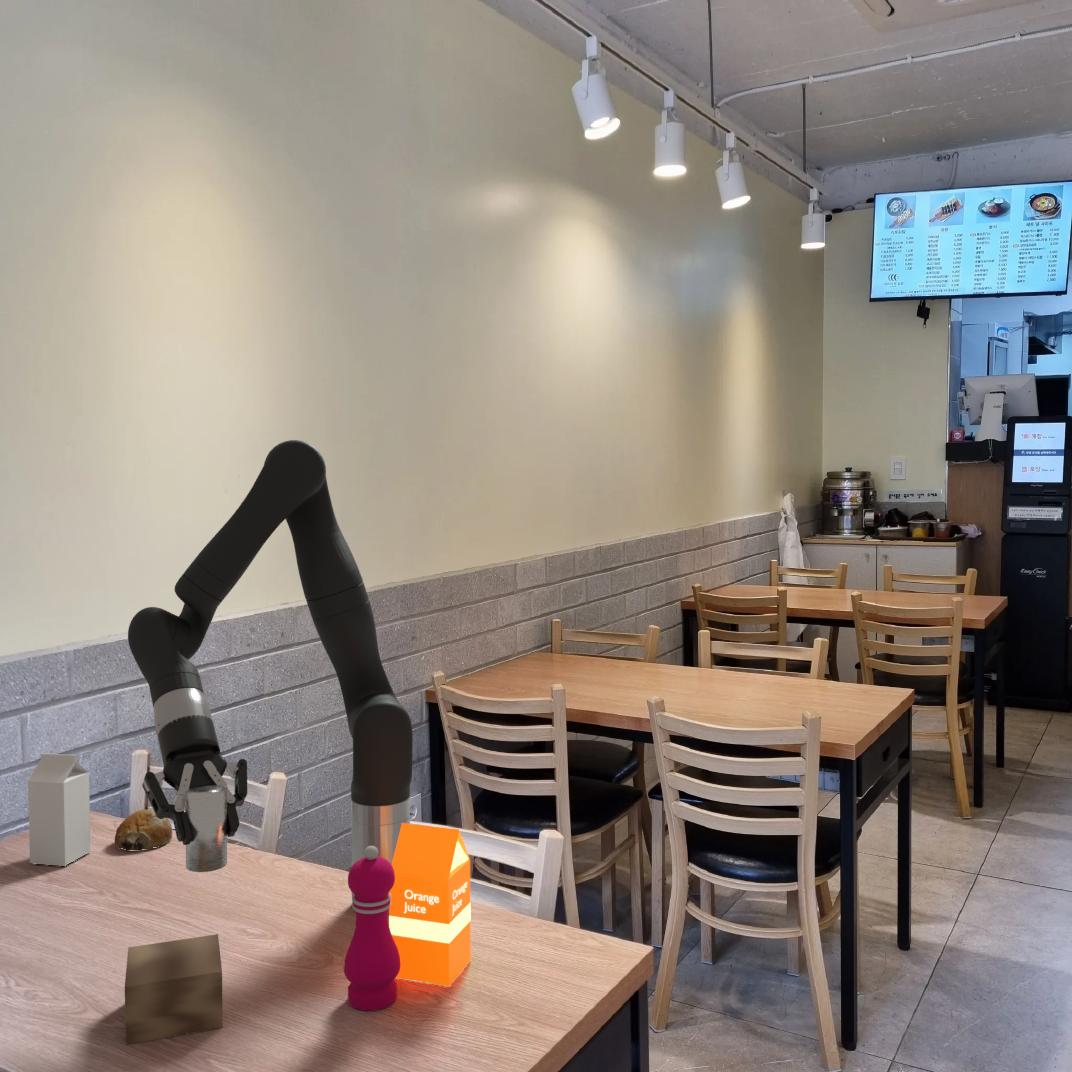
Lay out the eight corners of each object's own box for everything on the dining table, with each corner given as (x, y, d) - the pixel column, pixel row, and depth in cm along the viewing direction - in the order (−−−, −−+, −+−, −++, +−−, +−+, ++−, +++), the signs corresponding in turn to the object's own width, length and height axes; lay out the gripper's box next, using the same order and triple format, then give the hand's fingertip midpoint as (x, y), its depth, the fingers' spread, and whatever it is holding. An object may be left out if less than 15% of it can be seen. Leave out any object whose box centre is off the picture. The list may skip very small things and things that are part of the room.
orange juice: (449, 988, 131) (448, 838, 130) (388, 978, 134) (387, 831, 133) (471, 962, 139) (470, 820, 138) (414, 953, 141) (413, 814, 141)
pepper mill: (375, 1019, 123) (373, 860, 123) (332, 1003, 127) (330, 849, 126) (412, 994, 130) (411, 843, 129) (370, 980, 133) (368, 833, 133)
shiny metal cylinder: (226, 855, 135) (226, 783, 135) (227, 869, 130) (227, 794, 130) (186, 860, 133) (185, 786, 133) (185, 874, 129) (185, 797, 128)
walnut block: (218, 986, 132) (218, 934, 132) (222, 1027, 122) (222, 971, 121) (129, 1000, 128) (128, 947, 128) (125, 1044, 118) (124, 987, 118)
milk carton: (65, 867, 174) (62, 760, 173) (29, 865, 176) (27, 758, 175) (91, 853, 181) (88, 750, 180) (56, 850, 183) (54, 748, 182)
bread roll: (175, 862, 187) (190, 819, 189) (132, 854, 179) (148, 809, 181) (142, 852, 192) (157, 810, 195) (98, 843, 184) (114, 800, 187)
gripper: (135, 719, 133) (158, 833, 124) (242, 707, 141) (271, 814, 132) (127, 750, 138) (148, 862, 128) (230, 737, 146) (258, 841, 136)
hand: (210, 837), depth 130 cm, fingers closed on shiny metal cylinder, 5 cm apart
